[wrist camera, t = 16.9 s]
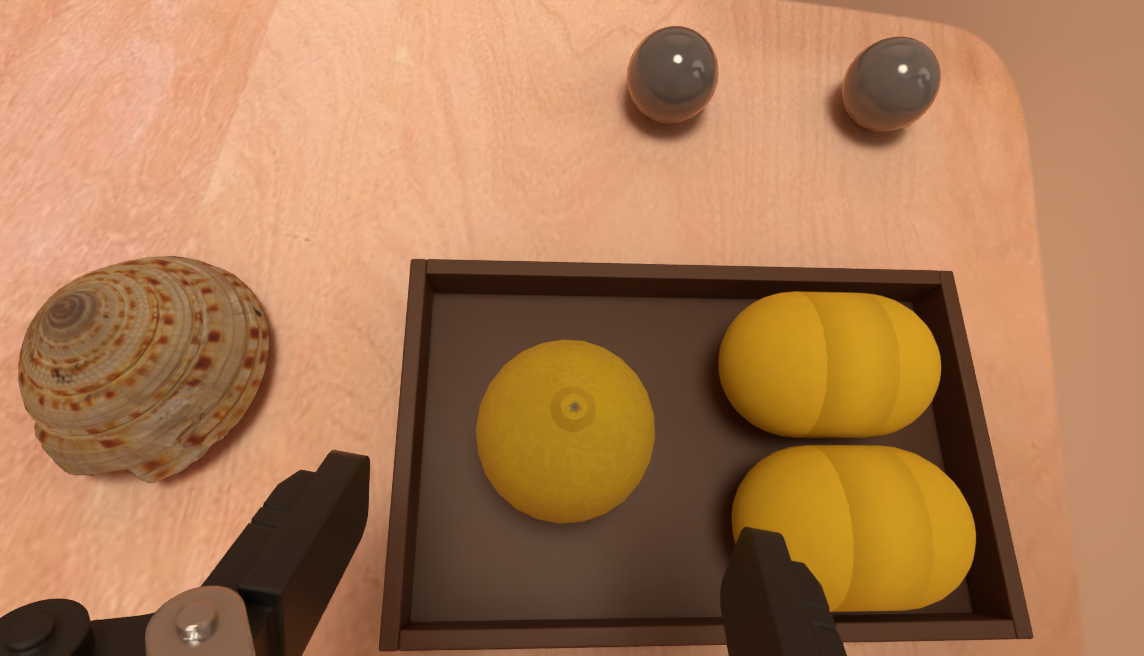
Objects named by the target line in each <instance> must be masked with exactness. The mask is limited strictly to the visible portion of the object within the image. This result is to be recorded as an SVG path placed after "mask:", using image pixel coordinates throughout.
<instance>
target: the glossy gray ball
mask: <svg viewBox="0 0 1144 656" xmlns="http://www.w3.org/2000/svg"><path fill="white" fill-rule="evenodd" d="M940 82H941V70H940V65H939V62H938V60H937V58H936V56H935V54H934V53H933V52H932V50H931V49H930V48H929V47H928V46H926V45H925V44H924V43H922V42H920V41H918V40H916V39H912V38H908V37H891V38H887V39H883V40H880V41H878V42H875V43H873V44H872V45H870V46H868V47H867V48H865V49H864V50H863V51H862V52H861V53H859V54H858V55H857V57H856V58H855V59H854V60H853V61H852V63H851V64H850V66H849V68H848V69H847V71H846V74H845V76H844V79H843V84H842V100H843V104H844V107H845V109H846V111H847V113H848V115H849V116H850V117H851V118H852V120H853V121H855V122H856V123H857V124H858V125H860V126H862V127H864V128H866V129H869V130H873V131H880V132H886V131H894V130H897V129H901V128H904V127H906V126H908V125H910V124H912V123H913V122H915V121H916V120H918V119H919V118H920V117H921V116H922V115H924V114H925V113H926V112H927V110H928V109H929V108H930V107H931V105H932V104H933V102H934V100H935V98H936V96H937V94H938V91H939V88H940Z"/></svg>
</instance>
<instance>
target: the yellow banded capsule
mask: <svg viewBox="0 0 1144 656" xmlns="http://www.w3.org/2000/svg"><path fill="white" fill-rule="evenodd" d="M744 527H752V528H757V529H762V530H768V531H773V532H779V533H781V534H782V535H783V537H784V539H785V542H786V545H787V548H788V551H789V554H790V557H791V561H797V562H802V563H805V565H806V566H807V567H808V568H809V570H810V571H811V572H812V574H813V575H814V576H815V577H816V579H817V580H818V581H819V582H820V584H821V585H822V588H823V591H824V594H825V596H826V599H827V602H828V605H829V607H830V608H829V612H849V611H903V610H911V609H919V608H922V607H925V606H927V605H930V604H933V603H935V602H937V601H940V600H942V599H944V598H945V597H946V596H947V595H949V594H950V593H951V592H953V591H954V590H955V589H956V588H957V587H958V586H959V585H960V583H961V582H962V580H963V579H964V577H965V576H966V574H967V573H968V571H969V569H970V567H971V564H972V561H973V558H974V552H975V545H976V531H975V523H974V520H973V516H972V513H971V510H970V508H969V506H968V504H967V502H966V500H965V498H964V496H963V495H962V493H961V491H960V489H959V488H958V487H957V486H956V484H955V483H954V482H953V481H952V480H951V479H950V478H949V477H948V476H947V475H946V474H945V473H944V472H943V471H942V470H940V469H939V468H938V467H937V466H936V465H934V464H933V463H931V462H929V461H928V460H926V459H924V458H922V457H920V456H919V455H917V454H915V453H912V452H908V451H905V450H902V449H899V448H895V447H889V446H879V445H805V446H796V447H788V448H785V449H782V450H779V451H776V452H774V453H772V454H770V455H769V456H767V457H765V458H764V459H762V460H760V461H759V462H758V463H757V464H756V465H755V466H754V467H752V468H751V469H750V470H749V472H748V473H747V474H746V476H745V477H744V479H743V480H742V482H741V484H740V485H739V487H738V490H737V493H736V496H735V499H734V502H733V507H732V530H733V536H734V541H735V545H736V542H737V540H738V537H739V535H740V532H741V530H742V529H743V528H744Z"/></svg>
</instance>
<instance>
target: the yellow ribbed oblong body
mask: <svg viewBox="0 0 1144 656" xmlns="http://www.w3.org/2000/svg"><path fill="white" fill-rule="evenodd" d="M719 376H720V381H721V384H722V387H723V389H724V391H725V394H726V396H727V398H728V400H729V401H730V403H731V404H732V405H733V407H734V408H735V409H736V411H737V412H738V413H739V414H740V415H742V416H743V417H744V418H745V419H746V420H747V421H748V422H750V423H751V424H753V425H754V426H756V427H758V428H760V429H762V430H764V431H766V432H769V433H772V434H776V435H779V436H783V437H792V438H868V437H877V436H884V435H887V434H890V433H893V432H896V431H898V430H900V429H902V428H904V427H906V426H907V425H909V424H910V423H912V422H914V421H915V420H916V419H917V418H918V417H919V416H920V415H921V414H922V413H923V412H924V411H925V410H926V409H927V407H928V406H929V405H930V403H931V402H932V400H933V398H934V395H935V393H936V391H937V388H938V385H939V381H940V376H941V359H940V353H939V349H938V346H937V344H936V342H935V339H934V337H933V335H932V333H931V331H930V330H929V328H928V327H927V325H926V324H925V323H924V322H923V321H922V320H921V319H920V318H919V317H918V316H917V315H916V314H915V313H914V312H913V311H912V310H910V309H908V308H907V307H905V306H904V305H902V304H900V303H899V302H897V301H895V300H892V299H889V298H886V297H883V296H879V295H874V294H866V293H841V292H785V293H778V294H774V295H771V296H767V297H764V298H762V299H760V300H758V301H756V302H754V303H752V304H751V305H749V306H748V307H747V308H746V309H744V310H743V311H742V312H741V313H740V314H738V315H737V317H736V318H735V319H734V321H733V322H732V323H731V325H730V326H729V327H728V329H727V331H726V333H725V335H724V338H723V340H722V342H721V346H720V350H719Z"/></svg>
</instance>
